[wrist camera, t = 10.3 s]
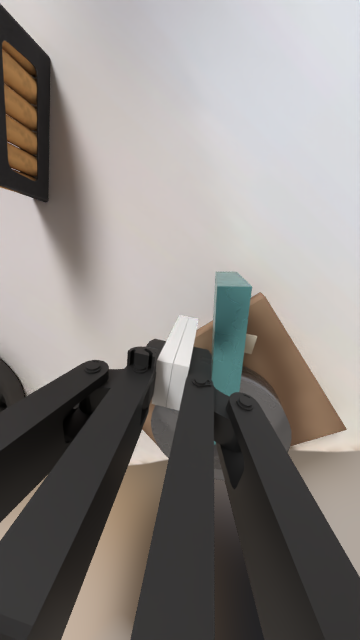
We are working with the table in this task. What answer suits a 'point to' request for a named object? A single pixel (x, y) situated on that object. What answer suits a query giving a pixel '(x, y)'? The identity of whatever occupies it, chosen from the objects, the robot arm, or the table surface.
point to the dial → (228, 366)
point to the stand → (278, 374)
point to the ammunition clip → (23, 111)
